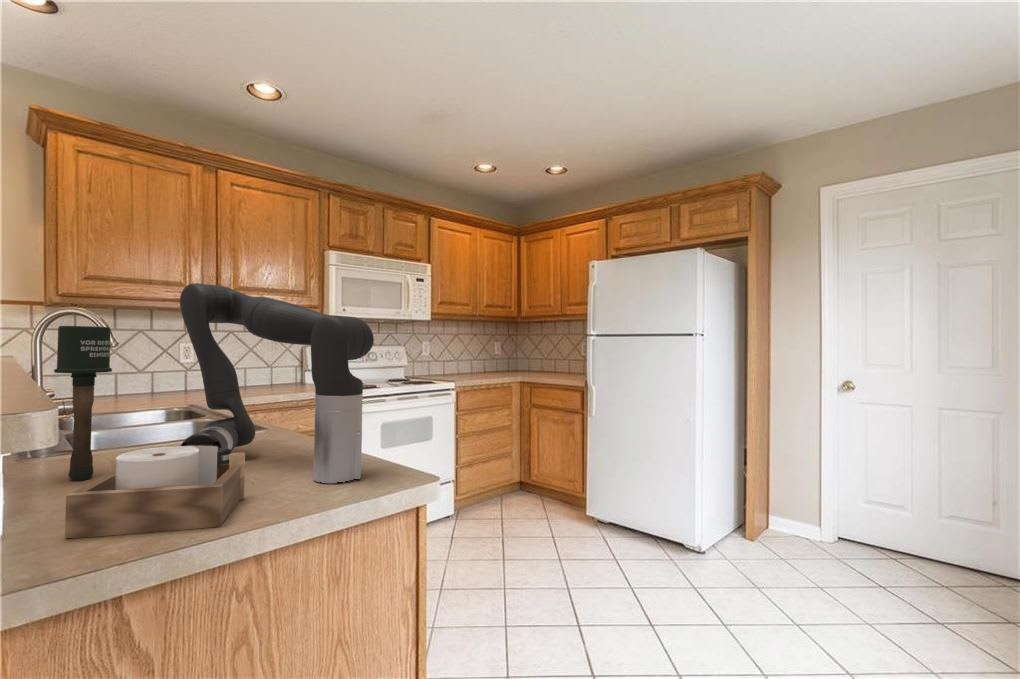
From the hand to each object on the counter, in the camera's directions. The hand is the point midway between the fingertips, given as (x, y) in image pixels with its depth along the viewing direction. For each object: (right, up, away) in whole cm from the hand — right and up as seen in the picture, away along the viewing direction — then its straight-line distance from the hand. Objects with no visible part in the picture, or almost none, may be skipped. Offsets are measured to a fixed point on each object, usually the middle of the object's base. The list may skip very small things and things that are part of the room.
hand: (176, 469), depth 82 cm
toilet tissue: (+1, -6, -5) cm, 8 cm away
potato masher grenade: (-28, -6, +14) cm, 32 cm away
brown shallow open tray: (+1, -6, -5) cm, 8 cm away
